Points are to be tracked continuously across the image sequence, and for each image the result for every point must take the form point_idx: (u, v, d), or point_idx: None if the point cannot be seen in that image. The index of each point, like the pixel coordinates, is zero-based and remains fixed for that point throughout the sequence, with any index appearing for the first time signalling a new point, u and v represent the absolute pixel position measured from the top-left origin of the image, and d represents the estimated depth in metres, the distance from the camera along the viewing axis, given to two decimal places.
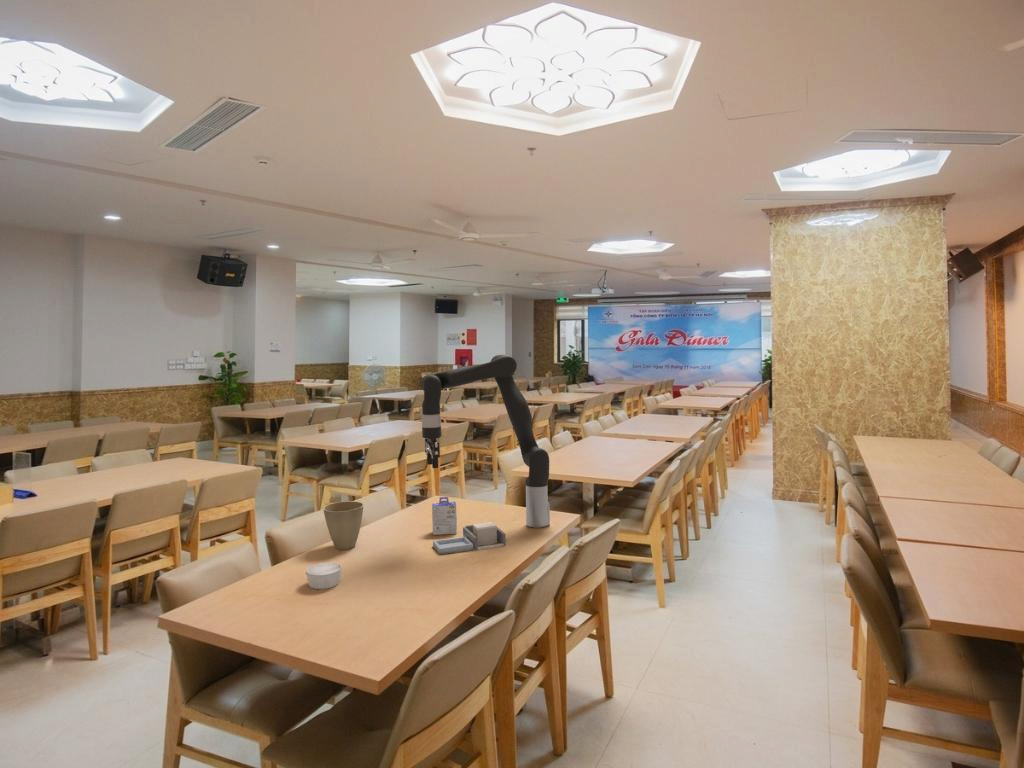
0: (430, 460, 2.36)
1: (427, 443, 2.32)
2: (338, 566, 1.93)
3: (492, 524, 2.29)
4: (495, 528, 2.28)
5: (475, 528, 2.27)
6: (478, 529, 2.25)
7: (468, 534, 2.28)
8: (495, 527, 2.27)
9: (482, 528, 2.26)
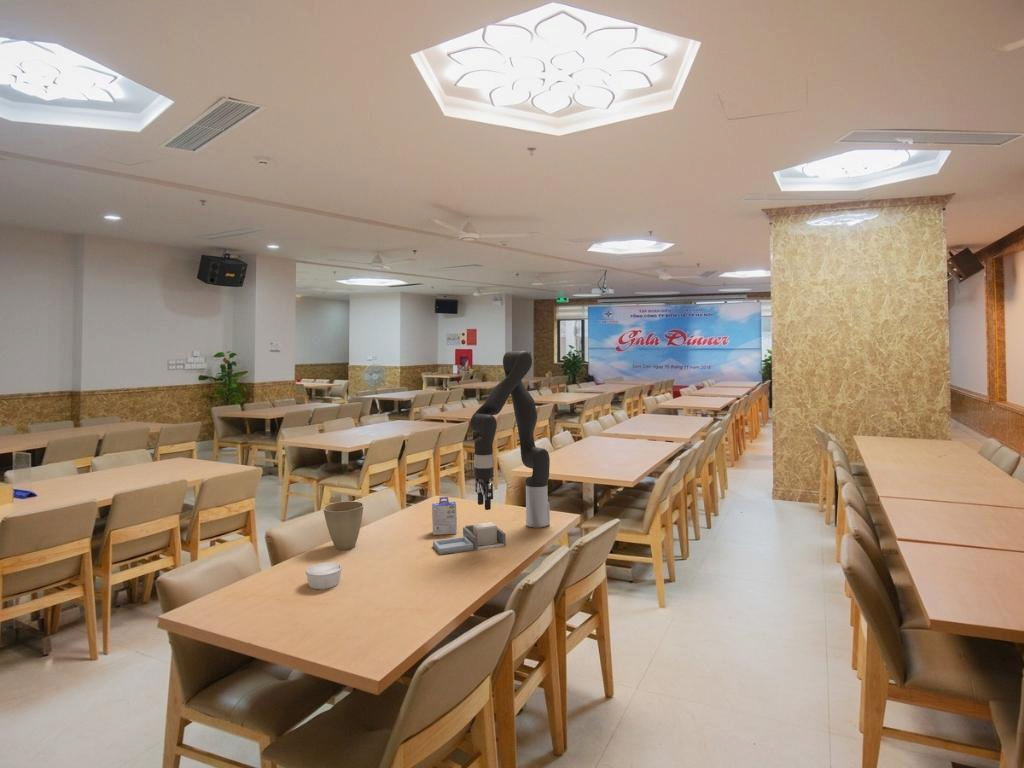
0: (481, 500, 2.32)
1: (479, 483, 2.28)
2: (338, 566, 1.93)
3: (492, 524, 2.29)
4: (495, 528, 2.28)
5: (475, 528, 2.27)
6: (478, 529, 2.25)
7: (468, 534, 2.28)
8: (495, 527, 2.27)
9: (482, 528, 2.26)
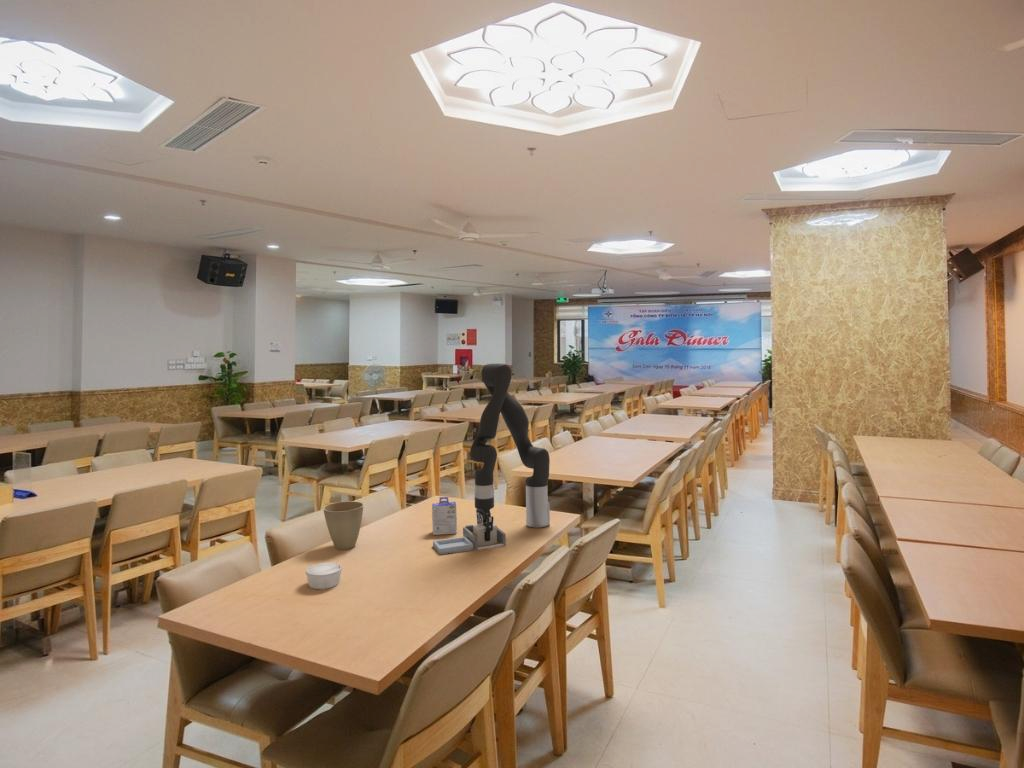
0: None
1: (479, 513, 2.28)
2: (338, 566, 1.93)
3: None
4: (495, 528, 2.27)
5: (475, 528, 2.27)
6: (478, 529, 2.25)
7: (468, 534, 2.28)
8: (495, 527, 2.27)
9: (482, 528, 2.26)
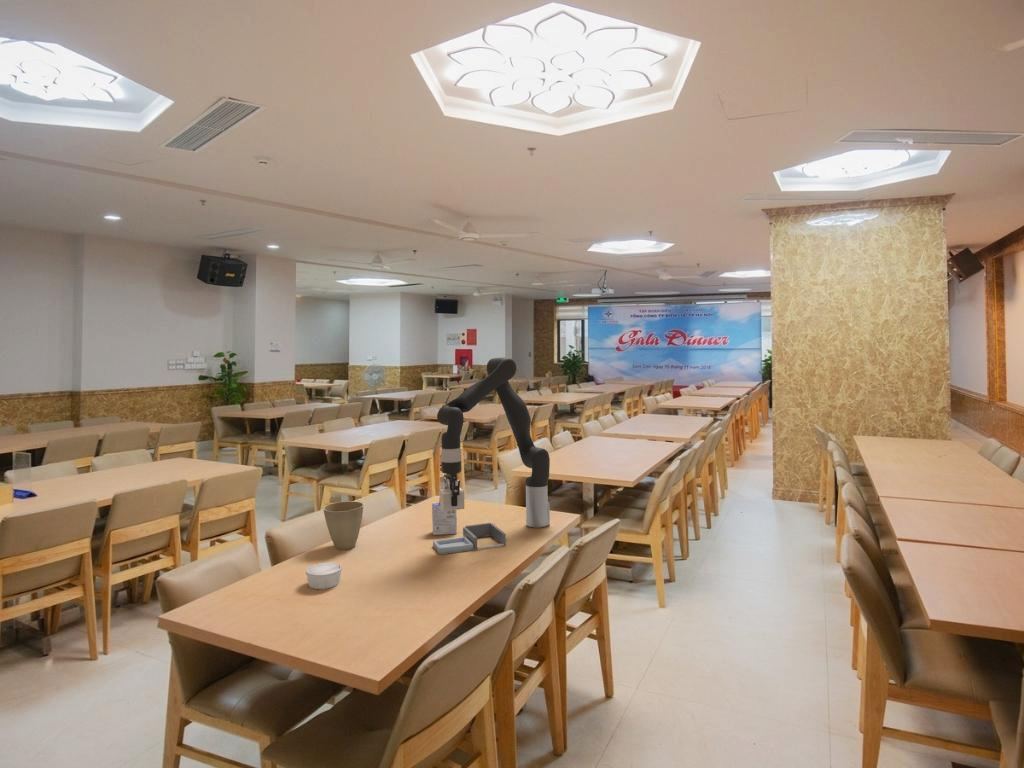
0: None
1: (446, 477, 2.22)
2: (338, 566, 1.93)
3: None
4: (462, 493, 2.21)
5: (442, 493, 2.20)
6: (444, 493, 2.18)
7: (468, 534, 2.28)
8: (462, 492, 2.21)
9: (449, 493, 2.19)
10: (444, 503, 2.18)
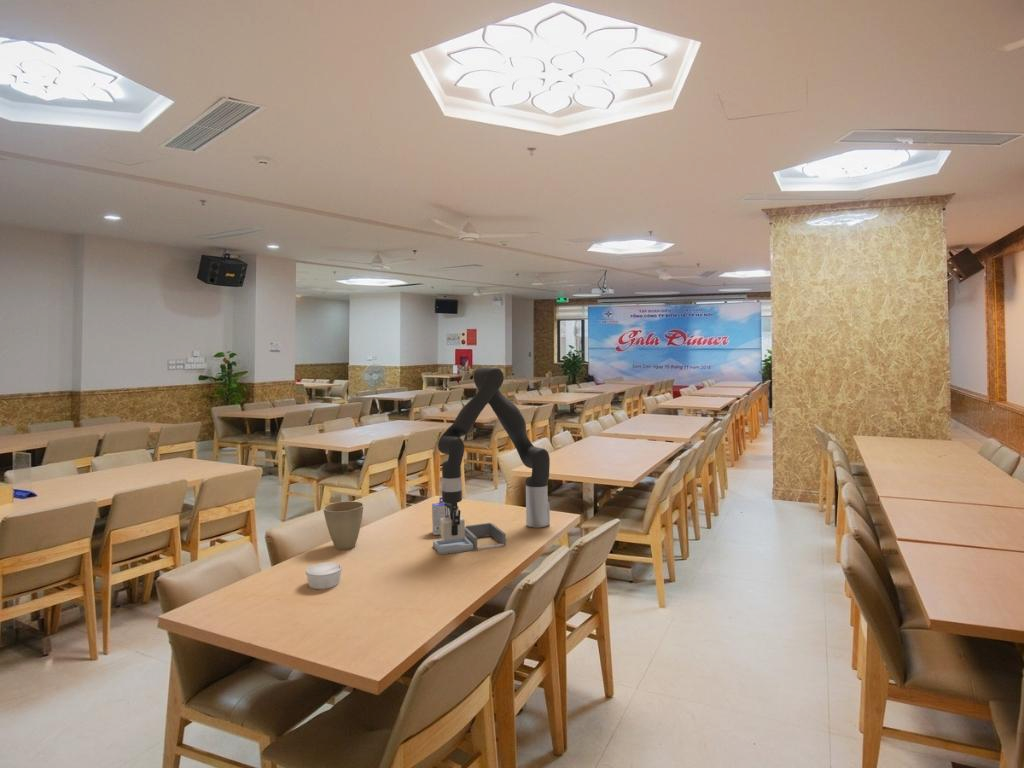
0: None
1: (447, 506, 2.22)
2: (338, 566, 1.93)
3: (460, 518, 2.23)
4: (463, 522, 2.21)
5: (442, 522, 2.21)
6: (445, 523, 2.19)
7: (468, 534, 2.28)
8: (463, 521, 2.21)
9: (449, 522, 2.19)
10: (444, 532, 2.19)
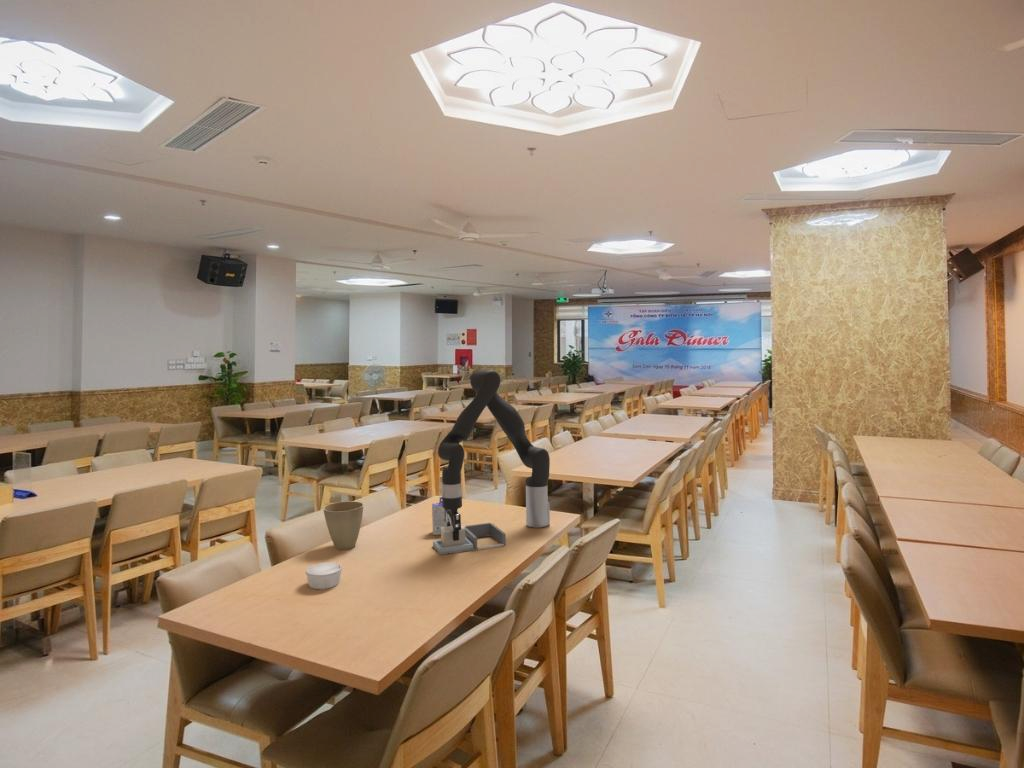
0: None
1: (447, 513, 2.22)
2: (338, 566, 1.93)
3: None
4: (463, 531, 2.22)
5: (442, 531, 2.21)
6: (445, 532, 2.19)
7: (468, 534, 2.28)
8: (463, 530, 2.22)
9: (449, 531, 2.20)
10: (445, 541, 2.19)
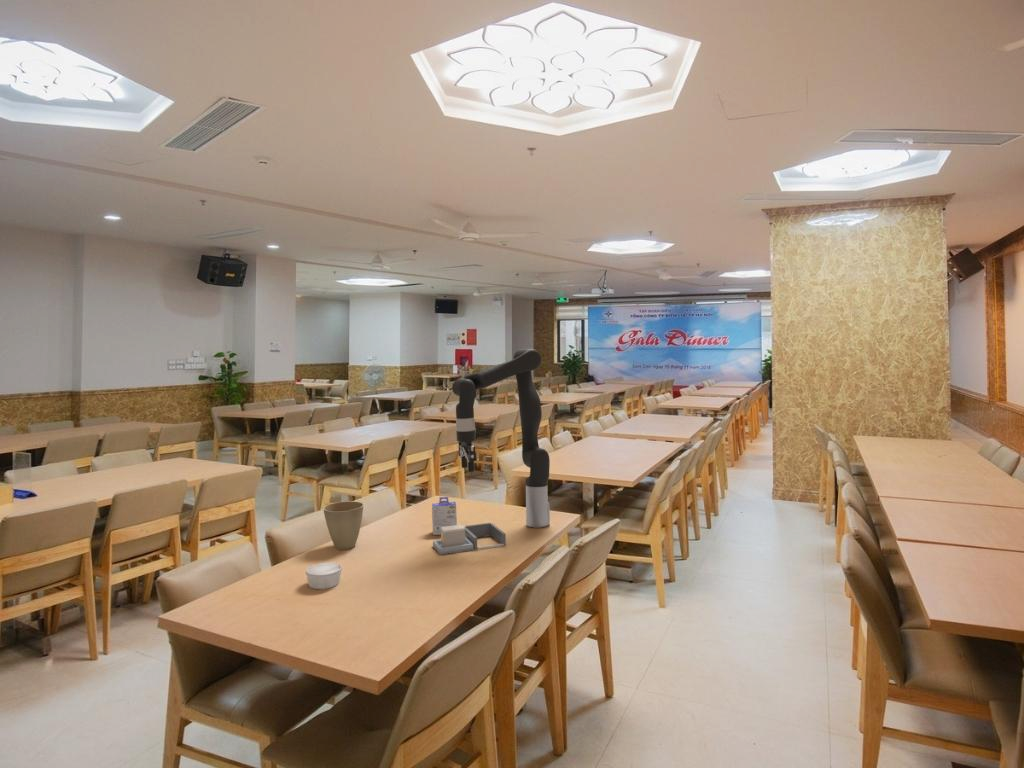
0: (464, 463, 2.37)
1: (462, 447, 2.33)
2: (338, 566, 1.93)
3: (460, 527, 2.23)
4: (463, 531, 2.22)
5: (442, 531, 2.21)
6: (445, 532, 2.19)
7: (468, 534, 2.28)
8: (463, 530, 2.22)
9: (449, 531, 2.20)
10: (445, 541, 2.19)
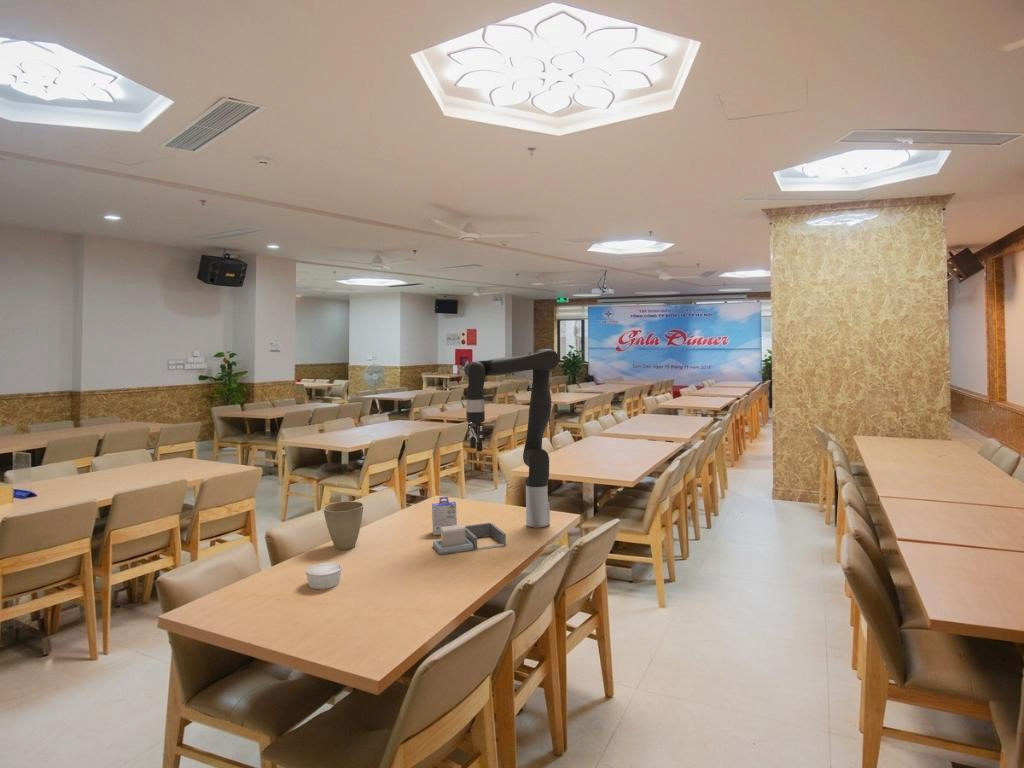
0: (473, 444, 2.45)
1: (471, 427, 2.41)
2: (338, 566, 1.93)
3: (460, 527, 2.23)
4: (463, 531, 2.22)
5: (442, 531, 2.21)
6: (445, 532, 2.19)
7: (468, 534, 2.28)
8: (463, 530, 2.22)
9: (449, 531, 2.20)
10: (445, 541, 2.19)
